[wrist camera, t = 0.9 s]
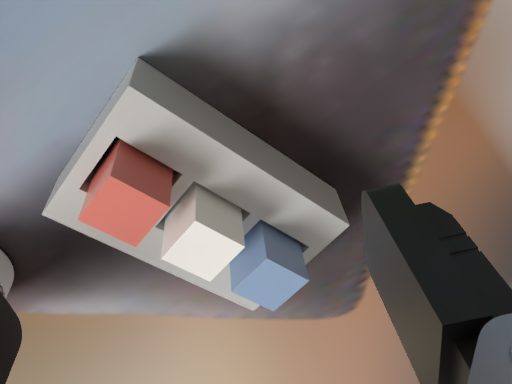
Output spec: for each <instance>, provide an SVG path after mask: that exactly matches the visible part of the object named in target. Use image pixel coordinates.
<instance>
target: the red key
mask: <svg viewBox="0 0 512 384" xmlns="http://www.w3.org/2000/svg"><path fill="white" fill-rule="evenodd" d="M172 178H173V169H172V168H170V167H169V166H167V165H165V164H163V163H162V162H160V161H158V160H156V159H155V158H153V157H151V156H149V155H148V154H146V153H144V152H142V151H141V150H139V149H137V148H135V147H134V146H132V145H130V144H128V143H127V142H125V141H123V140H121V139H119V138H118V140H117V141H116V143H115V144H114V145H113V147H112V148H111V150H110V151H109V152H108V154H107V155H106V157H105V158H104V159H103V161H102V162H101V164H100V165H99V167H98V168H97V169H96V171H95V172H94V174H93V177H92V180H91V183H90V186H89V189H88V192H87V194H86V197H85V200H84V203H83V206H82V209H81V212H80V215H79V218H78V220H79V221H81V222H83V223H85V224H87V225H89V226H91V227H94V228H96V229H98V230H100V231H102V232H104V233H106V234H109V235H111V236H113V237H115V238H117V239H119V240H121V241H124V242H126V243H128V244H130V245H132V246H134V247H136V246H137V245H138V244H139V243H140V242H141V240H142V239H143V238H144V237H145V236H146V235H147V233H148V232H149V231H150V230H151V229H152V227H153V226H154V225H155V224H156V223H157V222H158V220H159V219H160V218H161V217H162V216H163V214H164V213H165V212H166V211H167V210H168V209H169V207H170V199H171V188H172Z"/></svg>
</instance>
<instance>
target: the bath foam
mask: <svg viewBox="0 0 512 384" xmlns="http://www.w3.org/2000/svg"><path fill="white" fill-rule="evenodd" d="M13 280H14V270H13V266H12V264H11V262H10V260H9V258H8V257H7V256H6V254H5V253H4V252H3V251H2V250H0V291H1V293H2V294H3V296H4V297H5V299H6V297H7V295H8V293H9V291H10V288H11V286H12V283H13Z"/></svg>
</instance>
